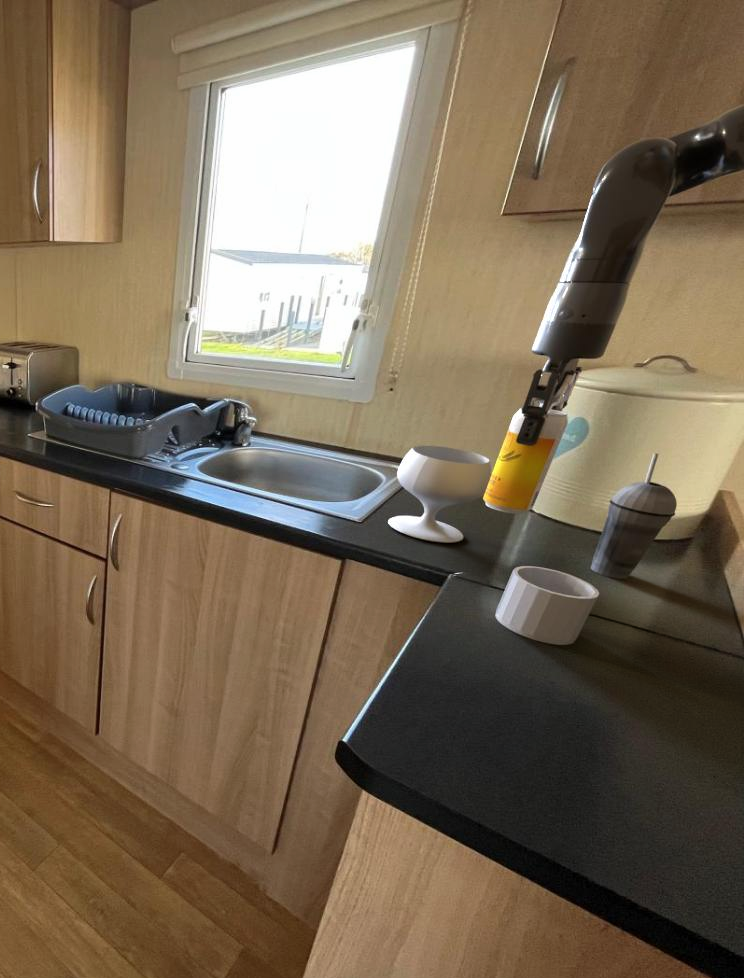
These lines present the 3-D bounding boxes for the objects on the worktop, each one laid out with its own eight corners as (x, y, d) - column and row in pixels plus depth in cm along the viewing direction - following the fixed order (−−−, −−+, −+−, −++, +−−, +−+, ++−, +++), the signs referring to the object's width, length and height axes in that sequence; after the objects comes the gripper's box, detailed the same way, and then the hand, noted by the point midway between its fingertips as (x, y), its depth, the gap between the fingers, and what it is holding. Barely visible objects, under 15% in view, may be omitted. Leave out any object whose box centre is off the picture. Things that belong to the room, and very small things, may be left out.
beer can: (485, 497, 89) (519, 405, 83) (533, 508, 85) (573, 411, 79) (477, 507, 85) (513, 410, 79) (527, 518, 81) (569, 417, 75)
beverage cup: (637, 588, 86) (703, 465, 78) (576, 570, 91) (631, 453, 83) (641, 574, 90) (703, 456, 82) (582, 558, 95) (635, 446, 87)
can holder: (582, 630, 74) (605, 585, 71) (567, 653, 69) (591, 605, 66) (505, 602, 80) (523, 560, 77) (486, 622, 75) (505, 577, 73)
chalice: (431, 550, 96) (460, 468, 90) (365, 520, 108) (386, 446, 102) (487, 541, 100) (518, 463, 94) (417, 513, 112) (441, 442, 106)
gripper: (605, 322, 67) (551, 454, 74) (627, 320, 75) (576, 440, 82) (529, 318, 72) (485, 442, 79) (556, 317, 81) (514, 429, 87)
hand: (531, 440), depth 81 cm, fingers closed on beer can, 6 cm apart
